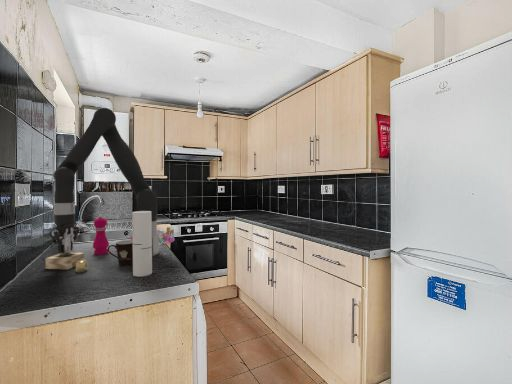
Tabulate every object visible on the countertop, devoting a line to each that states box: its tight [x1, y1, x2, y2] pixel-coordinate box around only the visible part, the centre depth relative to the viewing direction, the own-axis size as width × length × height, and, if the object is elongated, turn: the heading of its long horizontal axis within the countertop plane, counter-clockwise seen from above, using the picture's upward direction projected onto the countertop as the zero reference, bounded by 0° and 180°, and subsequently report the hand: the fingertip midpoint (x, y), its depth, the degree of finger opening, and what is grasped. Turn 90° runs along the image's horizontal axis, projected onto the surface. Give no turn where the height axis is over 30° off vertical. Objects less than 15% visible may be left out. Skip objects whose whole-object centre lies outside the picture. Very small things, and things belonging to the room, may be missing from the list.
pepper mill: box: [92, 214, 110, 256], centre depth 141 cm, size 7×7×20 cm
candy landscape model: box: [130, 226, 176, 246], centre depth 168 cm, size 25×24×9 cm
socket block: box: [45, 251, 86, 270], centre depth 121 cm, size 10×10×4 cm
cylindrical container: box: [131, 210, 153, 277], centre depth 110 cm, size 7×7×25 cm
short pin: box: [75, 259, 88, 273], centre depth 114 cm, size 4×4×4 cm
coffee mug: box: [107, 239, 133, 267], centre depth 123 cm, size 12×9×10 cm
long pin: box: [59, 234, 72, 257], centre depth 120 cm, size 4×4×12 cm
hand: (65, 251), depth 120 cm, fingers closed on long pin, 4 cm apart
